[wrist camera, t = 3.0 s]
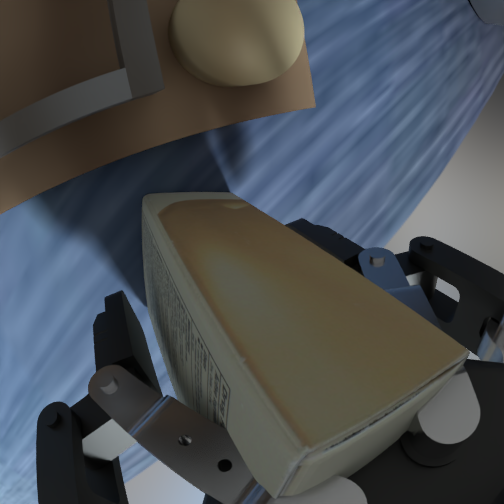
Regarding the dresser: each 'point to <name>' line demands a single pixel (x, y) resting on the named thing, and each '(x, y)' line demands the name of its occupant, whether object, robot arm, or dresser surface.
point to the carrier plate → (135, 79)
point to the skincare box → (283, 340)
